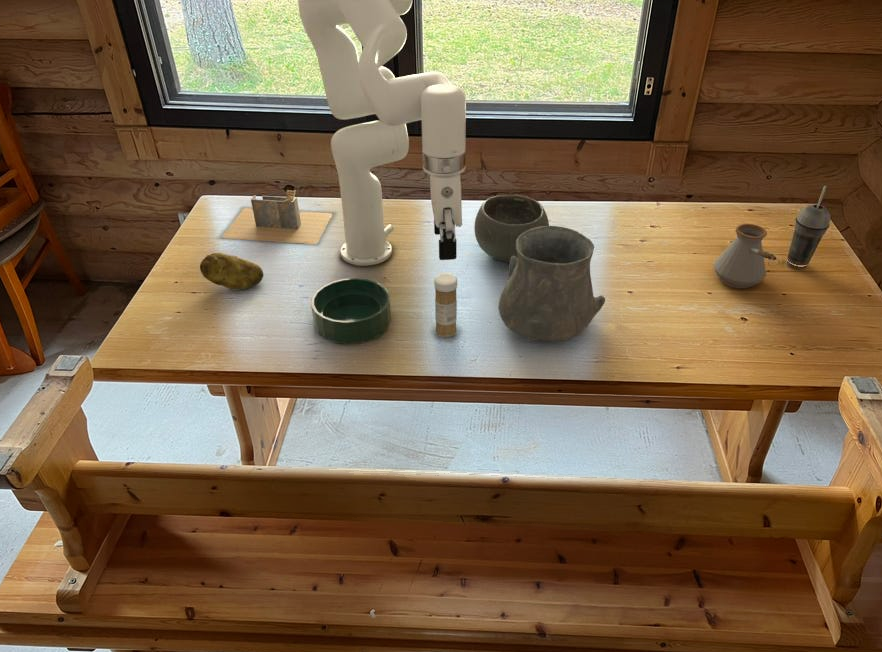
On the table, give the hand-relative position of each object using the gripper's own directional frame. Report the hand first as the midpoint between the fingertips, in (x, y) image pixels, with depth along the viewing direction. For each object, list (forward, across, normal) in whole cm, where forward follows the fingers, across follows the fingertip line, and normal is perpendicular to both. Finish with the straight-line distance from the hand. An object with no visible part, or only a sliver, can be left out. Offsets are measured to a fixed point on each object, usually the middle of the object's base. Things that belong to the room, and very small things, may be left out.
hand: (445, 245), depth 132 cm
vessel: (+21, 0, -22) cm, 31 cm away
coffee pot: (+21, +9, -69) cm, 73 cm away
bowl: (+21, +30, -19) cm, 41 cm away
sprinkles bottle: (+21, 0, 0) cm, 21 cm away
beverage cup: (+21, +18, -87) cm, 91 cm away
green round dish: (+21, +6, +20) cm, 29 cm away
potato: (+20, +23, +47) cm, 56 cm away
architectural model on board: (+20, +51, +39) cm, 67 cm away
